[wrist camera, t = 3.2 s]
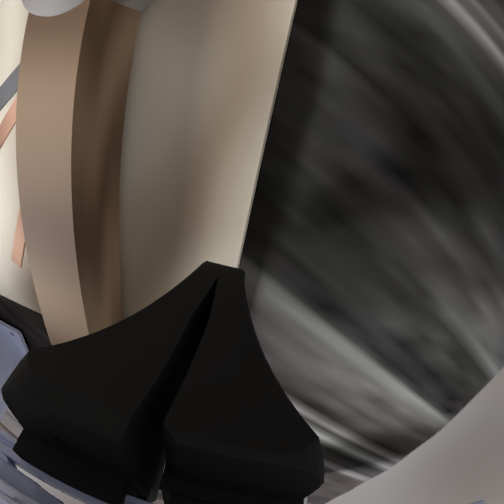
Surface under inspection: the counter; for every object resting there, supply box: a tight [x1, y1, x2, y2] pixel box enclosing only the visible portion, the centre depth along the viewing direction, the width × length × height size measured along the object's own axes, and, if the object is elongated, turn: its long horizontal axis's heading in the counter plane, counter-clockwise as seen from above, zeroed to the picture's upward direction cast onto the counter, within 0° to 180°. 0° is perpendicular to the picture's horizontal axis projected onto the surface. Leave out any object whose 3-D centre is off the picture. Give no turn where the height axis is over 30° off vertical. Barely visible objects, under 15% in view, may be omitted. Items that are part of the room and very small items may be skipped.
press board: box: [0, 0, 298, 320], centre depth 11 cm, size 20×20×2 cm
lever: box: [16, 0, 154, 345], centre depth 9 cm, size 19×4×3 cm, turn 169°
